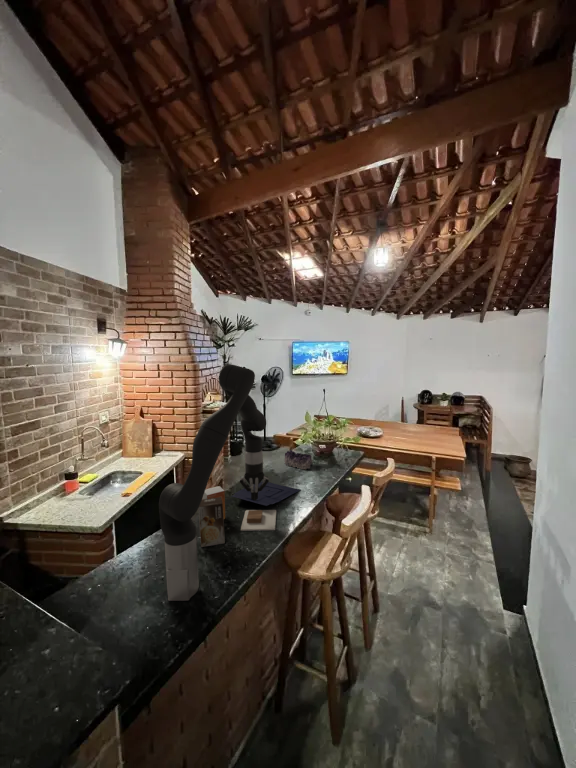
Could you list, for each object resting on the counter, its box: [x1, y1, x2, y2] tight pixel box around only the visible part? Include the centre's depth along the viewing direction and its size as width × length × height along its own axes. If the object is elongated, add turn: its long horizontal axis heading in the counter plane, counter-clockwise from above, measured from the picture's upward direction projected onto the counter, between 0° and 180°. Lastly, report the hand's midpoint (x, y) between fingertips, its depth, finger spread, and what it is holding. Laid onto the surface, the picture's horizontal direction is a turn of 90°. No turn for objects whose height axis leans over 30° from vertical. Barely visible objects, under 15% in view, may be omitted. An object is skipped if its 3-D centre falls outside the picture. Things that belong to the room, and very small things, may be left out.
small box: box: [202, 485, 226, 520], centre depth 144 cm, size 8×6×13 cm
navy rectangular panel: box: [231, 481, 301, 507], centre depth 165 cm, size 24×30×4 cm
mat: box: [240, 509, 277, 532], centre depth 142 cm, size 16×14×1 cm
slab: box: [247, 509, 263, 523], centre depth 142 cm, size 2×6×7 cm
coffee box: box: [198, 497, 226, 548], centre depth 126 cm, size 9×6×16 cm
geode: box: [283, 449, 313, 470], centre depth 208 cm, size 20×12×10 cm, turn 59°
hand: (254, 499), depth 141 cm, fingers closed
